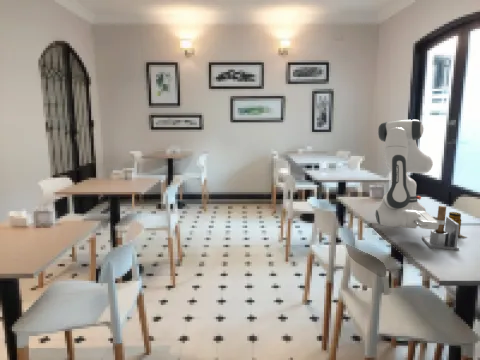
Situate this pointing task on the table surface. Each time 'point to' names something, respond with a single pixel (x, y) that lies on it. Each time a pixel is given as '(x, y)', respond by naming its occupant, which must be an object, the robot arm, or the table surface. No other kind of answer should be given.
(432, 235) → the cup bracket
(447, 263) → the table surface
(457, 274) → the table surface
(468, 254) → the table surface
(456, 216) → the condiment
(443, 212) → the wooden cylinder rod
